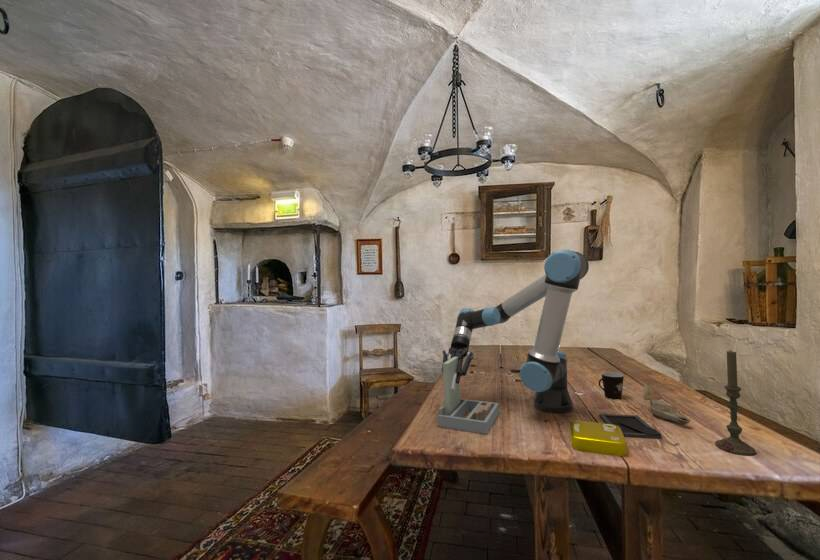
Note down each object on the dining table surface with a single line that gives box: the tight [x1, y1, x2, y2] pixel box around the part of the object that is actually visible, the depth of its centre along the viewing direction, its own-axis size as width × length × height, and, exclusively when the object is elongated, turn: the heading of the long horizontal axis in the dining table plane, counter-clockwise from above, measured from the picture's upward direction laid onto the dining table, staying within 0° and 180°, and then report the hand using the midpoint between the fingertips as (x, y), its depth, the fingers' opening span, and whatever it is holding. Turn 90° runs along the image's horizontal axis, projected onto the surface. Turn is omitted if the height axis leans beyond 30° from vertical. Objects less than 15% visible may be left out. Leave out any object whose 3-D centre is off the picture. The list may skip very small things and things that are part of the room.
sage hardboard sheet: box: [442, 357, 461, 416], centre depth 138 cm, size 2×13×20 cm, turn 154°
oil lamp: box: [642, 382, 691, 426], centre depth 131 cm, size 9×21×10 cm, turn 179°
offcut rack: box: [437, 398, 500, 435], centre depth 134 cm, size 18×21×6 cm
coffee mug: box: [598, 371, 625, 400], centre depth 156 cm, size 12×9×10 cm
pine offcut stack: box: [474, 403, 491, 421], centre depth 133 cm, size 4×9×6 cm, turn 154°
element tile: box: [569, 419, 628, 458], centre depth 113 cm, size 15×15×5 cm
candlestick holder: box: [714, 349, 757, 457], centre depth 107 cm, size 9×9×30 cm
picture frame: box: [598, 413, 663, 440], centre depth 124 cm, size 13×2×18 cm
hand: (449, 389), depth 135 cm, fingers closed on sage hardboard sheet, 2 cm apart
